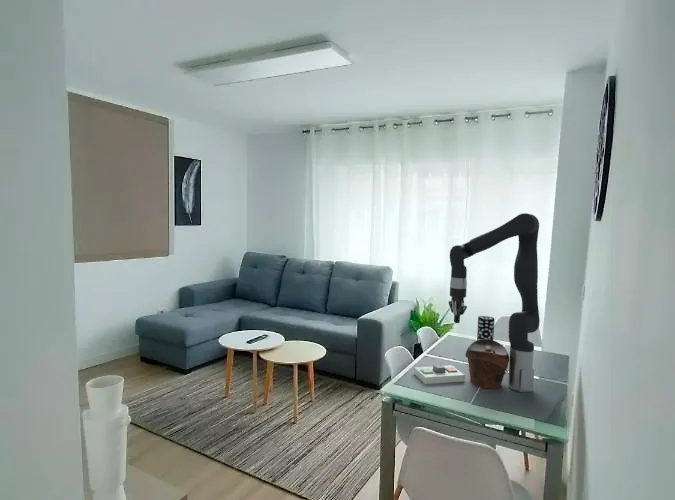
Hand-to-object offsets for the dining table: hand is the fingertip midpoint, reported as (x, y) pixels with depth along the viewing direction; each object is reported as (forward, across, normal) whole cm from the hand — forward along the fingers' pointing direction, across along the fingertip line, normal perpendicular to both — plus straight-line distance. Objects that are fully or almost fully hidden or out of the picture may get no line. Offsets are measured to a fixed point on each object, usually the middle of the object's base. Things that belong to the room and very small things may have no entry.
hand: (456, 322), depth 188 cm
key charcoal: (+20, -7, +12) cm, 25 cm away
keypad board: (+23, -7, +12) cm, 27 cm away
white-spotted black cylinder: (+23, +18, -29) cm, 42 cm away
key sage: (+22, -7, +19) cm, 29 cm away
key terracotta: (+21, -8, +7) cm, 24 cm away
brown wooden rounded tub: (+23, -17, -5) cm, 30 cm away
